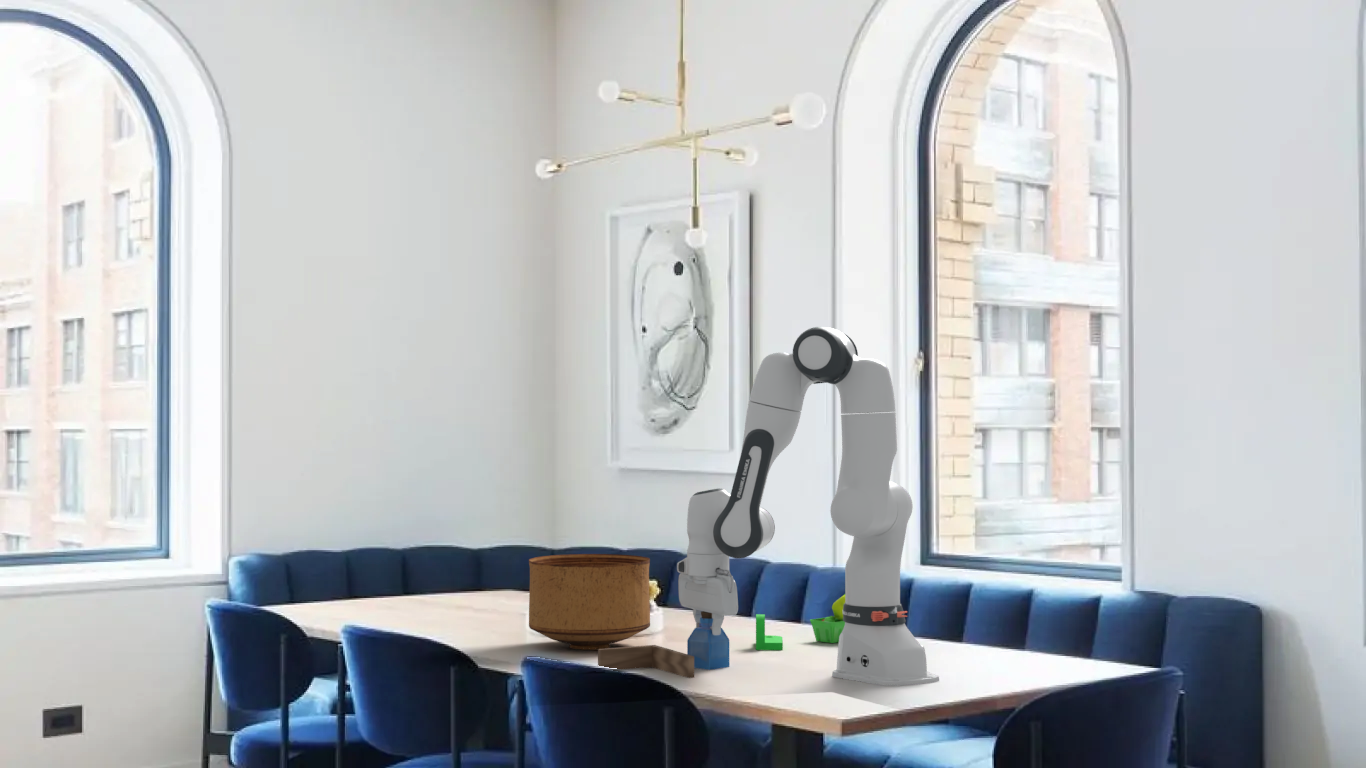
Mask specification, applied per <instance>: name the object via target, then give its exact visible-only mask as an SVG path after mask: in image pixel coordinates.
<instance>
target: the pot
mask: <svg viewBox="0 0 1366 768" xmlns="http://www.w3.org/2000/svg"><path fill="white" fill-rule="evenodd" d="M650 562H651V559H650V557H647V556H641V555H631V554H630V555H629V554H618V553H617V554H615V553H611V554H609V553H580V554H579V553H575V554H574V553H570V554H553V555H542V556H537V557H532V558H529V559H528V565H529V594H528V595H529V598H528V599H529V600H528V601H529V602H528V603H529V604H528V627H529V629H531V630H532V631H535V633H538V634H540V635H542V636H544V637H546V638H549V639H550V640H553V641H556V642H560V643H563V644H566V645H569V647H568V648H570V649H575V650H584V651H585V650H598V649H606V648H611V645H610V644H615V643H618V642H622V641H624V640H627V639H630V638H632V637H633V636H636V635H637V634H639V633H641V632H643V631H645V630H647V629H648V628H650V627H651V603H650V601H651V600H650V564H651V563H650Z"/></svg>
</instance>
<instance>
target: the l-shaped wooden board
mask: <svg viewBox="0 0 1366 768" xmlns="http://www.w3.org/2000/svg"><path fill="white" fill-rule="evenodd" d="M598 665H599V666H604V667H609V668H617V669H621V670H631V669H632V670H633V669H657V670H661V671H664V672H667V673H671V674H675V675H678V676H680V677H681V676H682V677H685V678H688V679H693V678H695V668H694V656H691V655H688V654H687V653H684V652H680V651H677V650H674V649H670V648H667V647H663V646H660V645H656V644H649V645H648V644H647V645H636V646H623V647H622V646H621V647H620V646H619V647H609V648H605V649H597V666H598Z"/></svg>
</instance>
